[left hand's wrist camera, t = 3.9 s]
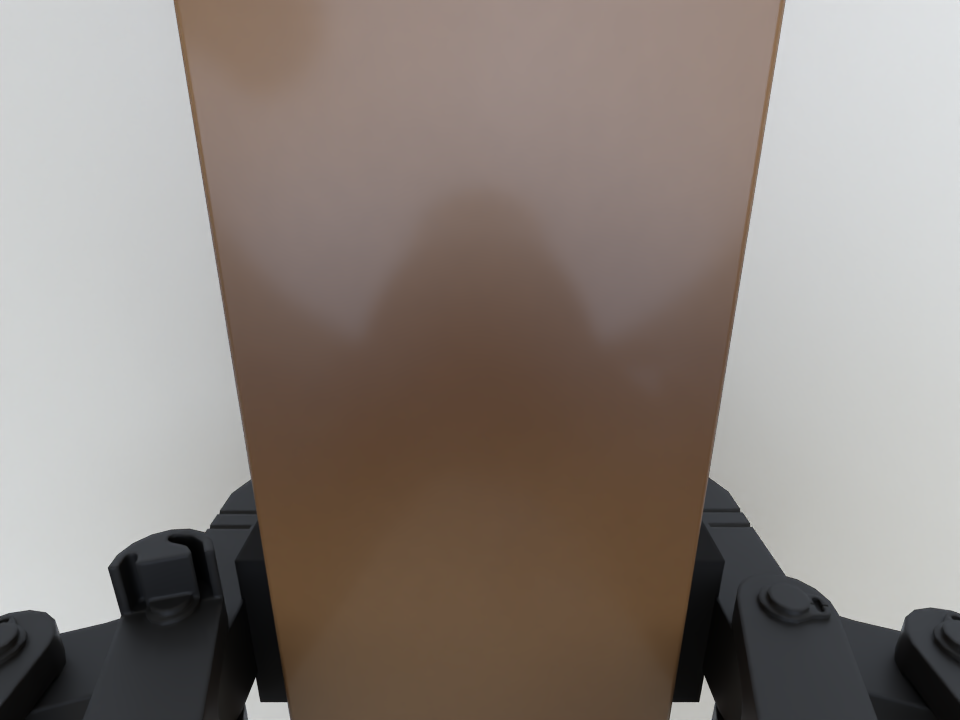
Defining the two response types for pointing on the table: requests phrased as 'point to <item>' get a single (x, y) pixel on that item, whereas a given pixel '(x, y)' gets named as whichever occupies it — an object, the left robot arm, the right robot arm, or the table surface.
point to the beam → (479, 331)
